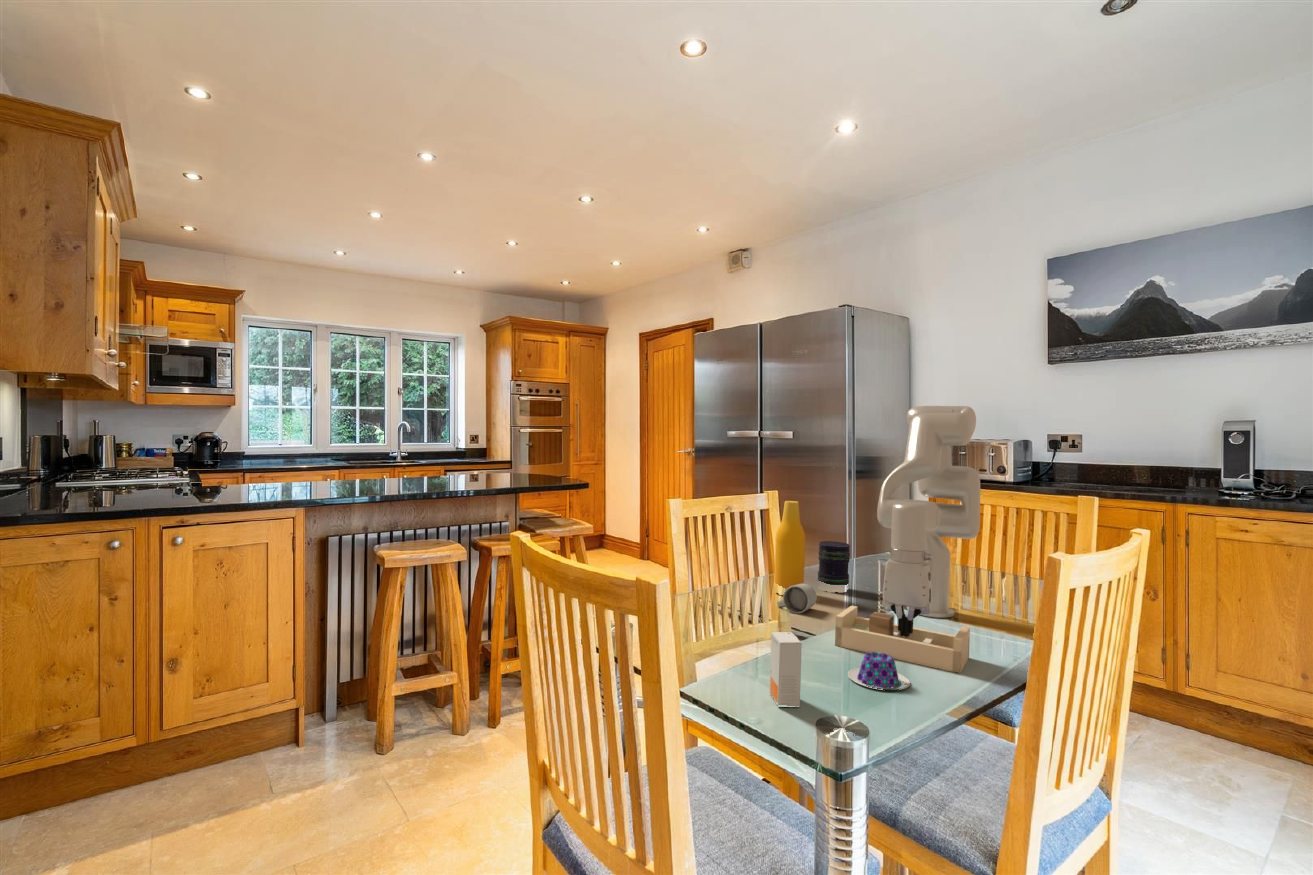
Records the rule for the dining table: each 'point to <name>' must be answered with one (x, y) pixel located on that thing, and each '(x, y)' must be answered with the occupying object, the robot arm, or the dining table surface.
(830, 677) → the dining table surface
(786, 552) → the beer bottle
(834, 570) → the storage jar
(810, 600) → the ceramic mug
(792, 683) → the skincare box
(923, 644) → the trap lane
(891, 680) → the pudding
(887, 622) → the walnut block
